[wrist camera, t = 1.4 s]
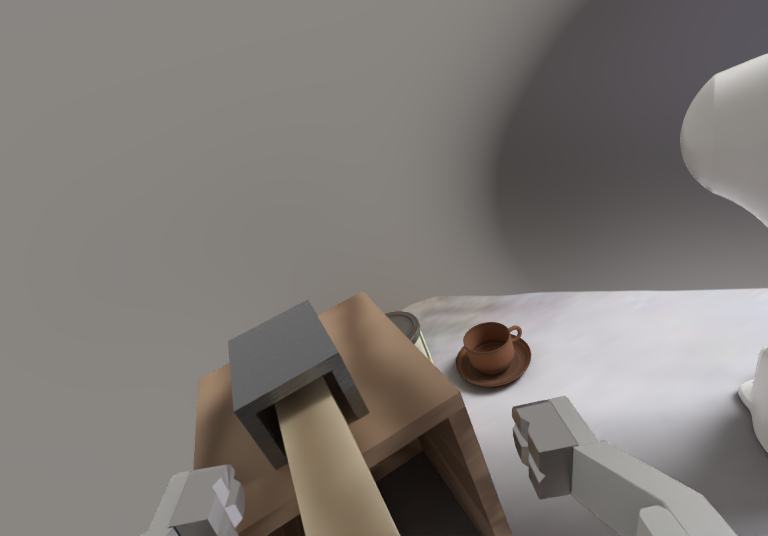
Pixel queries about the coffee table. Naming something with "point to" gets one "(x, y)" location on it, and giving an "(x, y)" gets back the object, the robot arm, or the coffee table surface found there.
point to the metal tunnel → (283, 373)
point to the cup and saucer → (493, 355)
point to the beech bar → (329, 467)
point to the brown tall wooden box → (358, 426)
